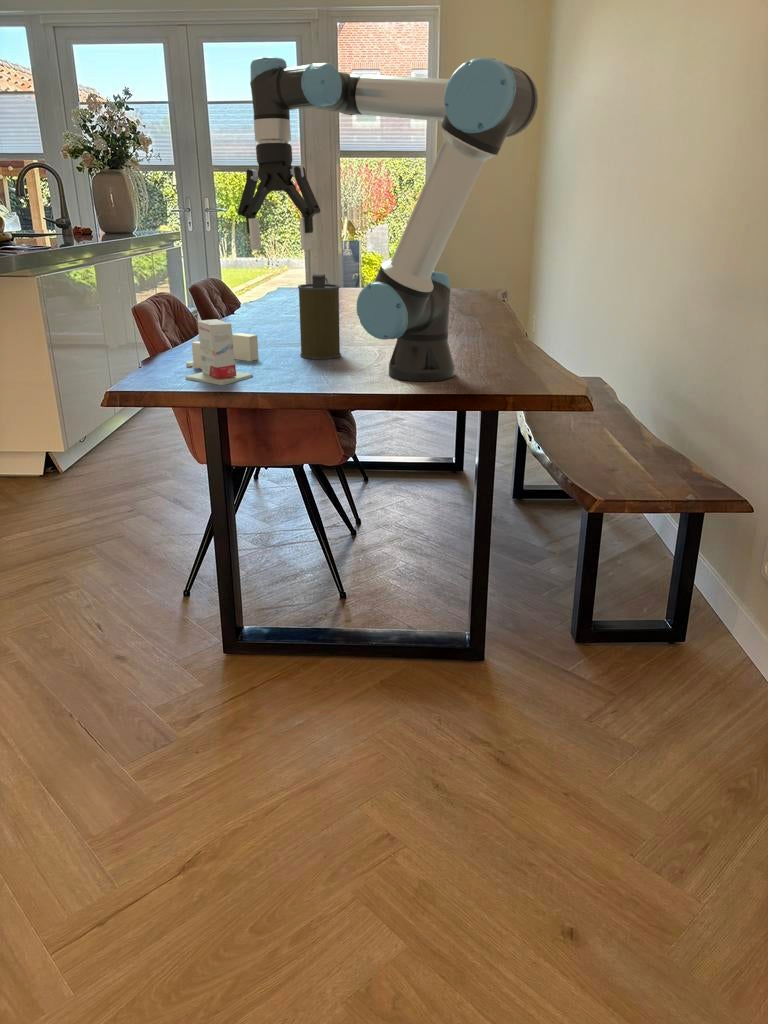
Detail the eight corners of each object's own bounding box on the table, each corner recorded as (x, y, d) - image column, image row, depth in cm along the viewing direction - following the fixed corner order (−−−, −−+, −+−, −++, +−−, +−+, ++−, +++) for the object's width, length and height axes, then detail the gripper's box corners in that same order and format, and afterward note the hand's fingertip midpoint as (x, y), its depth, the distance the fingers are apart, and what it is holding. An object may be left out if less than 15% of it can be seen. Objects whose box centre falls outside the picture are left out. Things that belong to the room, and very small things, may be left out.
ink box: (237, 377, 170) (233, 323, 165) (215, 380, 167) (211, 325, 162) (221, 370, 176) (217, 318, 172) (200, 373, 174) (196, 320, 169)
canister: (339, 359, 192) (338, 277, 184) (298, 359, 192) (295, 276, 184) (341, 351, 202) (340, 272, 194) (302, 351, 202) (299, 272, 194)
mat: (252, 376, 173) (252, 374, 173) (222, 385, 165) (222, 382, 165) (216, 371, 178) (216, 368, 178) (185, 379, 170) (185, 376, 170)
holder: (258, 359, 192) (257, 335, 189) (212, 370, 179) (210, 345, 176) (233, 355, 196) (231, 331, 193) (186, 366, 183) (184, 341, 180)
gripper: (333, 140, 158) (337, 248, 166) (237, 147, 170) (246, 248, 177) (313, 138, 152) (318, 250, 160) (215, 145, 163) (225, 250, 171)
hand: (280, 249), depth 169 cm, fingers open, 13 cm apart
